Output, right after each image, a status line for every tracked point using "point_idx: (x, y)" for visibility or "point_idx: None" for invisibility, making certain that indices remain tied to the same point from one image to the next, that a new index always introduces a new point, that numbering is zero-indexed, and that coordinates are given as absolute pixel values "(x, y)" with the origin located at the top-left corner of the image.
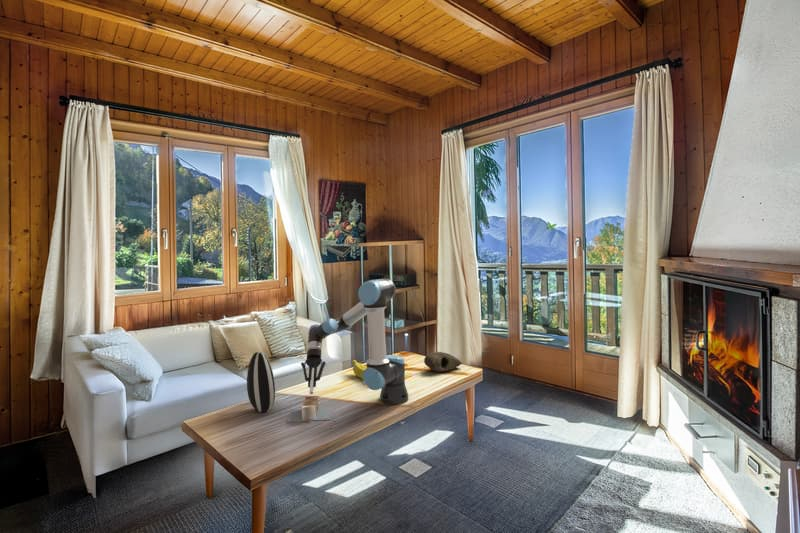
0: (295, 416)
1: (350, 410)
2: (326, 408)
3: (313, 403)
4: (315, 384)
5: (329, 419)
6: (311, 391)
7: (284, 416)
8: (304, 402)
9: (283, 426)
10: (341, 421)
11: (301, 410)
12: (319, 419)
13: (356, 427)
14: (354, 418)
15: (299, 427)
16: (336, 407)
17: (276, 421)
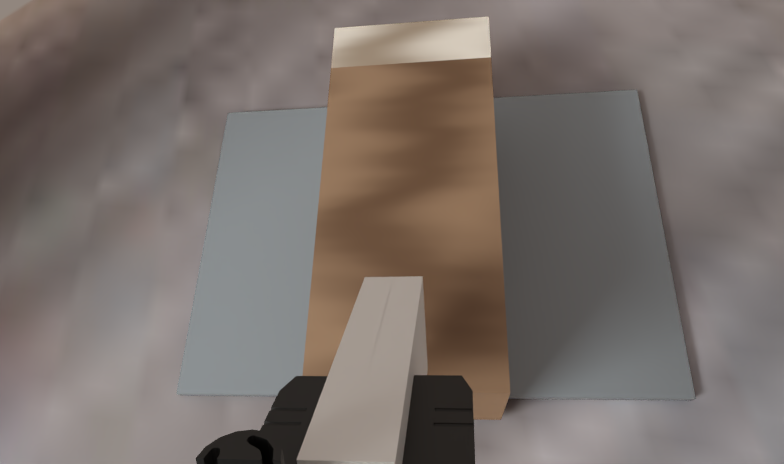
0: (578, 191)
1: (8, 307)
2: (244, 370)
3: (355, 115)
4: (277, 401)
5: (232, 114)
6: (384, 279)
7: (718, 229)
8: (484, 155)
9: (637, 29)
10: (140, 92)
11: (549, 349)
12: (320, 115)
13: (57, 5)
14: (27, 136)
15: (484, 12)
16: (130, 414)
17: (758, 121)
